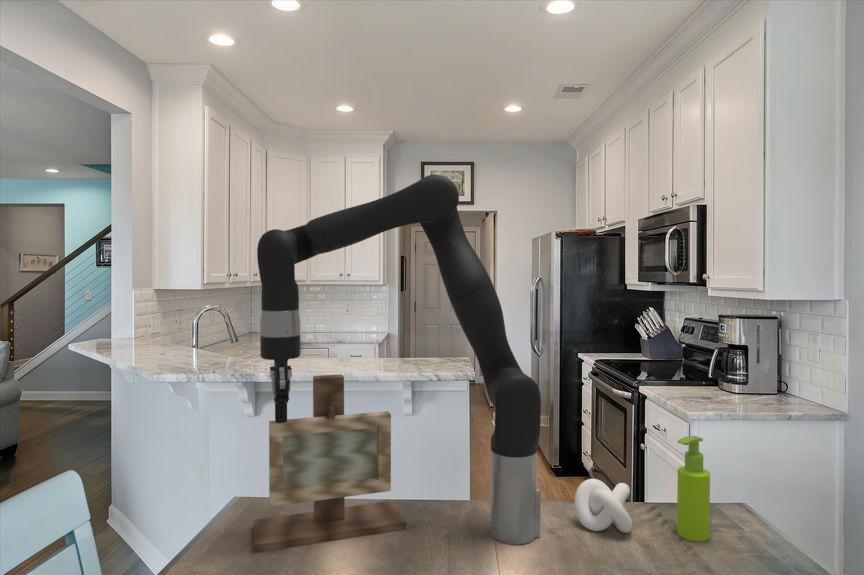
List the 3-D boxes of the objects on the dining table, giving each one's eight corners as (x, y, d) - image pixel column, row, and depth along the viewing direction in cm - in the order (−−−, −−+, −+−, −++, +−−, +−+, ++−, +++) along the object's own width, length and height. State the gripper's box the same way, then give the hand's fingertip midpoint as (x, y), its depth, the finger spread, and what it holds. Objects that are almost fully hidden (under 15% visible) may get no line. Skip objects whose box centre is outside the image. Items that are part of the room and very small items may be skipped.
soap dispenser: (667, 532, 110) (668, 435, 109) (689, 525, 113) (691, 431, 113) (692, 545, 105) (694, 444, 104) (715, 537, 108) (717, 439, 107)
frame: (387, 486, 114) (388, 401, 113) (390, 491, 111) (390, 404, 111) (269, 501, 106) (269, 410, 105) (269, 506, 103) (269, 414, 103)
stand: (393, 506, 122) (392, 368, 121) (406, 528, 111) (406, 377, 111) (253, 526, 112) (252, 376, 111) (254, 552, 102) (252, 387, 101)
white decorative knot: (650, 537, 108) (651, 493, 108) (598, 545, 105) (599, 500, 105) (616, 513, 119) (616, 473, 119) (568, 519, 116) (568, 478, 115)
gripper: (303, 336, 99) (303, 429, 100) (297, 329, 112) (297, 411, 112) (260, 337, 97) (261, 433, 97) (259, 330, 109) (260, 414, 110)
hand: (281, 421), depth 105 cm, fingers closed
